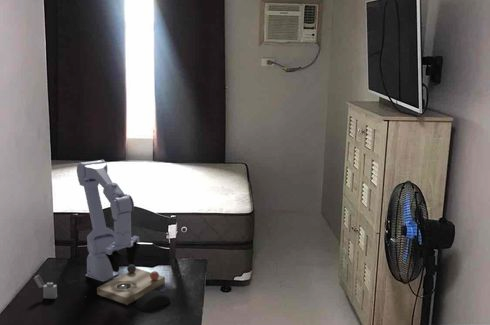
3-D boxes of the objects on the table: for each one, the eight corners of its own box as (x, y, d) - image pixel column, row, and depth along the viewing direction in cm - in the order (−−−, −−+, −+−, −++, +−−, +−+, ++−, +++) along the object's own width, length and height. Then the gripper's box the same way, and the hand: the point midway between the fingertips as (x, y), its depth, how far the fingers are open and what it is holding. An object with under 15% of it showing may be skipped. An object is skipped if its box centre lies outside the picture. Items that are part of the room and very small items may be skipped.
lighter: (57, 296, 182) (56, 274, 180) (55, 298, 180) (54, 277, 178) (36, 295, 182) (35, 274, 180) (34, 298, 180) (33, 276, 178)
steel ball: (118, 294, 185) (115, 288, 183) (123, 287, 187) (120, 282, 185) (125, 297, 184) (122, 291, 182) (130, 290, 186) (127, 284, 184)
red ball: (148, 280, 190) (148, 272, 189) (153, 277, 193) (153, 269, 192) (155, 282, 189) (155, 274, 188) (160, 279, 191) (160, 271, 191)
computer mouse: (172, 303, 180) (172, 292, 179) (143, 313, 173) (143, 301, 172) (162, 296, 184) (162, 285, 184) (133, 305, 177) (133, 294, 176)
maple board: (97, 294, 184) (96, 287, 183) (135, 274, 201) (135, 268, 200) (127, 304, 177) (127, 298, 176) (164, 283, 194) (164, 276, 193)
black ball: (125, 273, 195) (125, 265, 195) (131, 270, 198) (131, 262, 197) (131, 275, 194) (131, 267, 193) (137, 272, 197) (137, 264, 196)
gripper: (116, 239, 172) (117, 277, 175) (145, 226, 185) (146, 262, 188) (100, 234, 176) (101, 272, 179) (130, 222, 188) (131, 258, 191)
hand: (123, 267), depth 183 cm, fingers open, 7 cm apart
